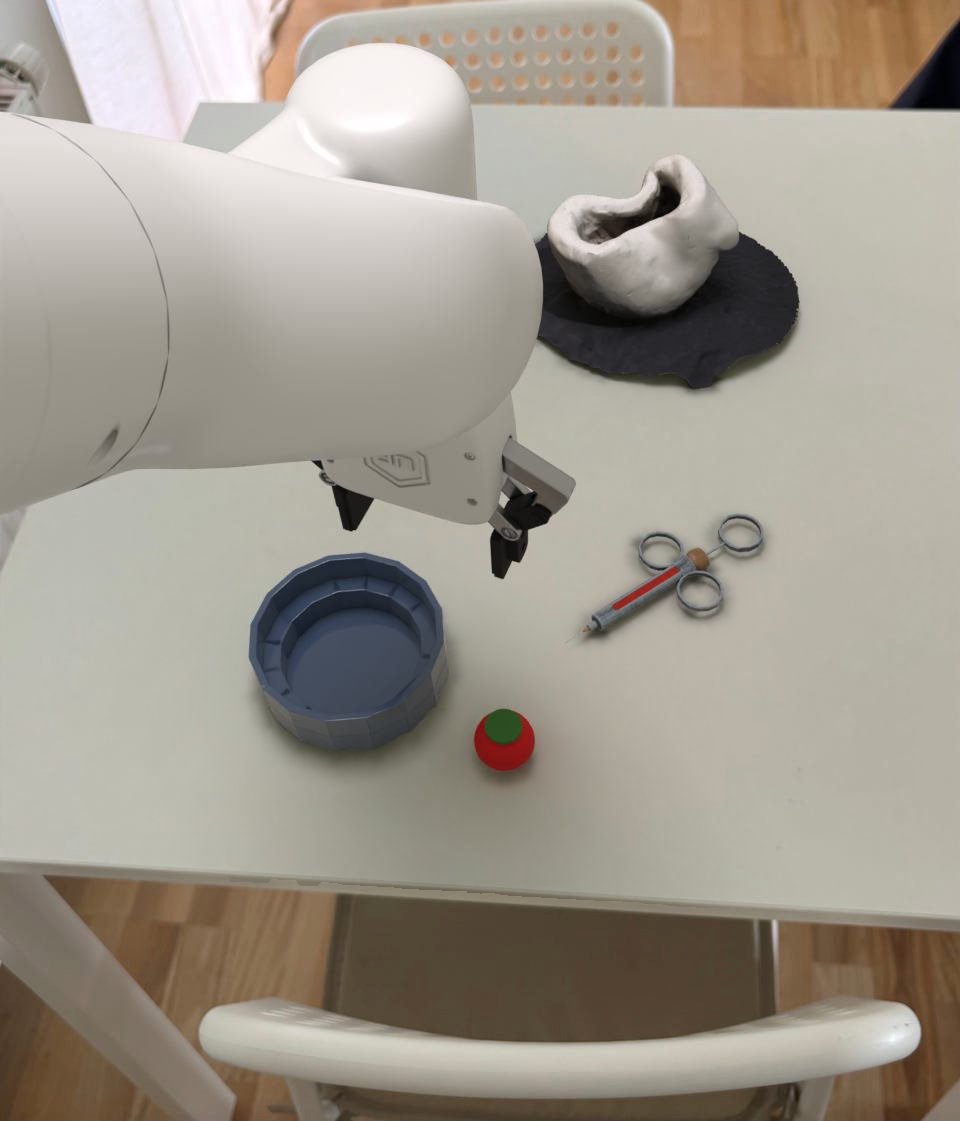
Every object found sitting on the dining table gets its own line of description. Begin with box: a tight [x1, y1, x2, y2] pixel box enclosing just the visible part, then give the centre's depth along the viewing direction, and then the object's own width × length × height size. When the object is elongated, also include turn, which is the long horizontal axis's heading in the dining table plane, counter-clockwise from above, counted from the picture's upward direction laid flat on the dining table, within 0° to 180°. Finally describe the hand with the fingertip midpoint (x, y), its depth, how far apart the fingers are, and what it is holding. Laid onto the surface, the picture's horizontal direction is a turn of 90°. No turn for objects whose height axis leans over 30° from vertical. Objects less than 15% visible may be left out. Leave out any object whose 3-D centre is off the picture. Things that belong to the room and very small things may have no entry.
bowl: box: [248, 552, 449, 753], centre depth 76 cm, size 13×13×5 cm
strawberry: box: [473, 708, 536, 772], centre depth 72 cm, size 4×4×4 cm
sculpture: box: [534, 153, 801, 390], centre depth 94 cm, size 23×25×13 cm
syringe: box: [563, 513, 764, 644], centre depth 80 cm, size 8×18×2 cm, turn 124°
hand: (432, 535), depth 66 cm, fingers open, 9 cm apart
